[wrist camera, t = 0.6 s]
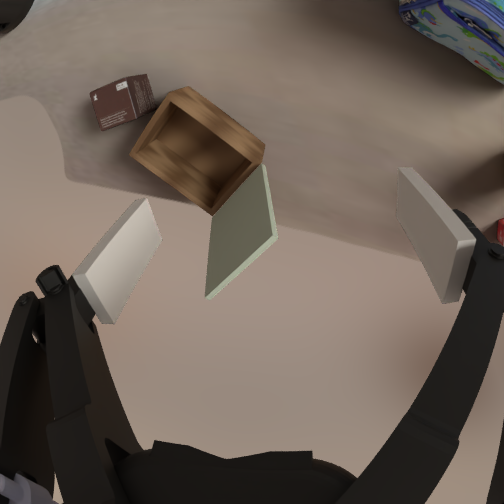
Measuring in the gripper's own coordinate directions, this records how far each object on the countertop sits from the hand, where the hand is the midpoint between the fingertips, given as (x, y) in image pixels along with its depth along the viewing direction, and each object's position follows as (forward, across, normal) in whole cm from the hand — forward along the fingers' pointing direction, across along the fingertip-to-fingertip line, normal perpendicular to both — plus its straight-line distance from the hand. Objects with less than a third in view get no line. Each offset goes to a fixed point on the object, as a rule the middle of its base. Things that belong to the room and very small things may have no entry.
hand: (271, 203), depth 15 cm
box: (+29, -20, +7) cm, 36 cm away
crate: (+29, -11, -2) cm, 31 cm away
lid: (+14, -6, -9) cm, 18 cm away
